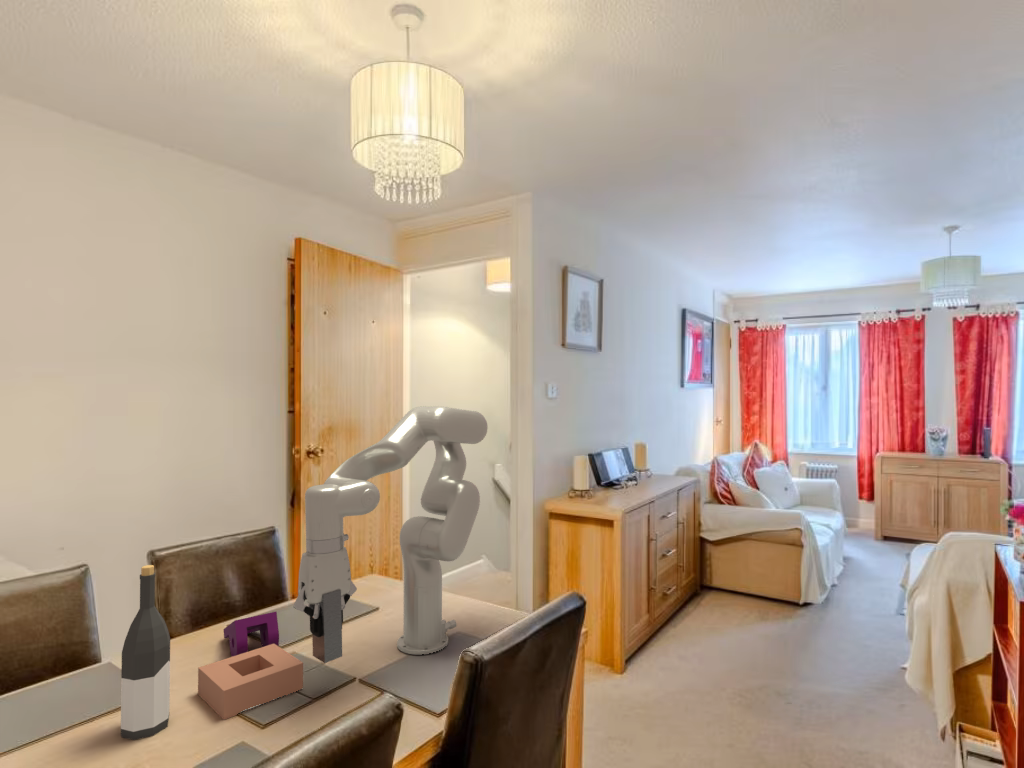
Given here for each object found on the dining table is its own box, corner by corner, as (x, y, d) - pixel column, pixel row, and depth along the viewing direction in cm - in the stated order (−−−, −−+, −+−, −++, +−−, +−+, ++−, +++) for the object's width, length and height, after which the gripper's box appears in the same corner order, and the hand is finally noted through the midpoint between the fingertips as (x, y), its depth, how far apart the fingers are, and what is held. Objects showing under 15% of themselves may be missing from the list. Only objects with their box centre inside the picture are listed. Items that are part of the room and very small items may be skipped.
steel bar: (330, 649, 124) (328, 584, 124) (342, 656, 121) (340, 589, 120) (312, 655, 121) (311, 589, 121) (324, 663, 118) (323, 595, 118)
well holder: (273, 667, 131) (273, 643, 132) (303, 689, 122) (303, 662, 122) (198, 694, 120) (198, 667, 120) (223, 719, 110) (223, 690, 110)
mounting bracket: (223, 667, 145) (237, 658, 132) (220, 631, 148) (234, 620, 135) (262, 656, 150) (280, 647, 138) (259, 622, 154) (276, 611, 141)
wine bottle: (135, 716, 111) (137, 560, 112) (178, 714, 112) (180, 559, 113) (109, 741, 103) (112, 573, 104) (156, 739, 104) (158, 572, 105)
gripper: (350, 533, 129) (352, 614, 129) (277, 550, 117) (279, 639, 117) (369, 539, 124) (371, 623, 124) (295, 557, 112) (297, 651, 112)
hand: (326, 630), depth 121 cm, fingers closed on steel bar, 4 cm apart
